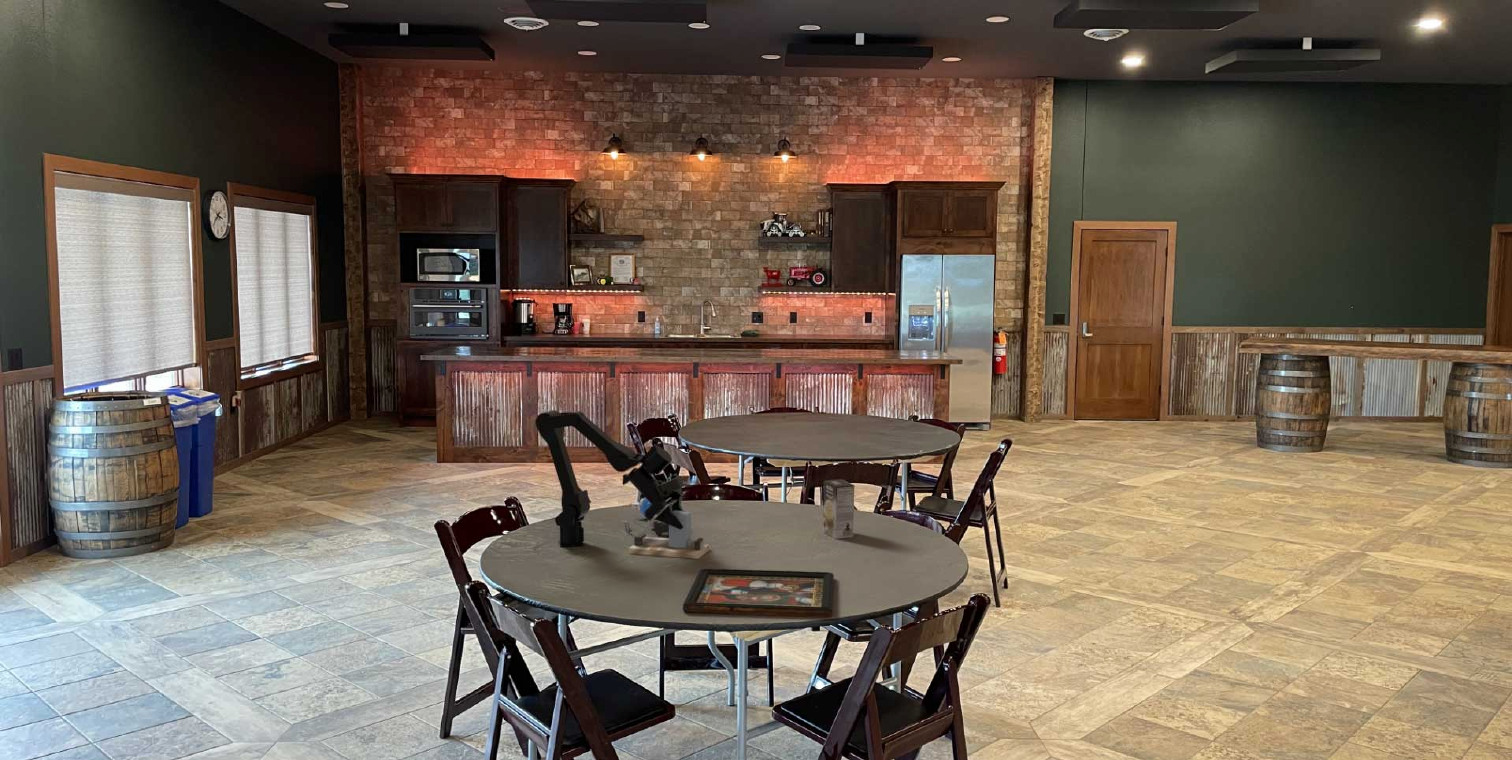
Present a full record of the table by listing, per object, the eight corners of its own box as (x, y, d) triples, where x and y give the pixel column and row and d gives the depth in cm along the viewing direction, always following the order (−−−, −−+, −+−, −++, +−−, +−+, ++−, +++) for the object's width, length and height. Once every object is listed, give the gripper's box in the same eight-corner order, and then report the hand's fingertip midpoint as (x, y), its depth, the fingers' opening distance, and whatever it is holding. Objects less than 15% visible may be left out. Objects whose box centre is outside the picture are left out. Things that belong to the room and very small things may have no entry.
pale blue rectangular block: (669, 546, 297) (668, 514, 296) (674, 542, 301) (674, 510, 300) (685, 548, 295) (685, 515, 294) (691, 543, 300) (691, 511, 299)
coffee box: (822, 532, 322) (822, 480, 321) (840, 530, 325) (841, 478, 323) (835, 539, 314) (835, 486, 312) (854, 537, 316) (855, 484, 314)
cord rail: (628, 553, 297) (628, 539, 296) (641, 544, 307) (641, 530, 307) (698, 559, 292) (698, 544, 291) (709, 549, 302) (709, 535, 301)
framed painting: (831, 576, 278) (831, 565, 278) (847, 620, 243) (847, 608, 243) (686, 576, 277) (686, 565, 277) (682, 621, 242) (681, 608, 242)
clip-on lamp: (623, 545, 317) (682, 533, 316) (617, 525, 316) (676, 513, 315) (629, 532, 329) (685, 520, 327) (624, 513, 328) (680, 501, 326)
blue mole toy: (632, 513, 345) (632, 488, 344) (668, 514, 345) (668, 488, 344) (626, 522, 333) (626, 496, 332) (663, 523, 333) (663, 496, 332)
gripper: (655, 472, 288) (693, 515, 286) (677, 460, 306) (713, 500, 304) (628, 499, 291) (666, 541, 289) (651, 486, 309) (687, 525, 307)
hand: (684, 526), depth 297 cm, fingers closed on pale blue rectangular block, 5 cm apart
